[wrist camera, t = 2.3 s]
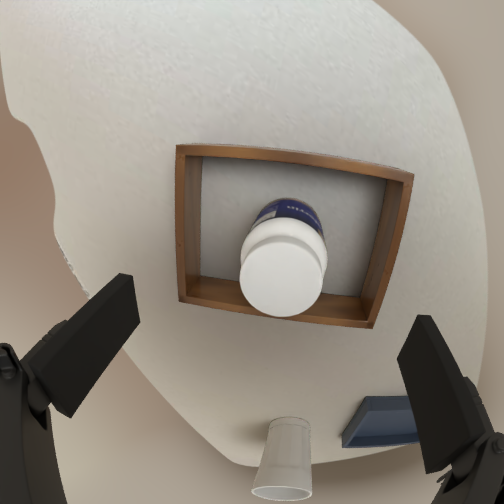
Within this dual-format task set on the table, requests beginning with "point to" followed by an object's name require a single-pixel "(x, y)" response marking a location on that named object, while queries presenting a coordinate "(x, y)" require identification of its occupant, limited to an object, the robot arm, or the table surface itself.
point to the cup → (285, 462)
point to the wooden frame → (230, 292)
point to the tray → (381, 424)
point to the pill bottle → (284, 259)
